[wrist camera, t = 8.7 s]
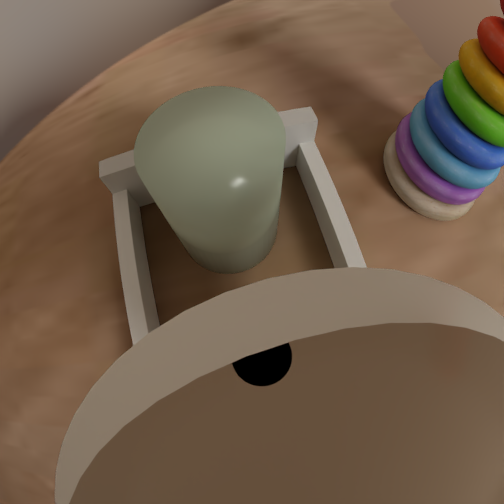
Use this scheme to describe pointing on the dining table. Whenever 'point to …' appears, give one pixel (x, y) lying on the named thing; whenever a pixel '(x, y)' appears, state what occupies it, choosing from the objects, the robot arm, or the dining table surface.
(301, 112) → the white u-shaped frame
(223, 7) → the dining table surface
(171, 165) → the grey-green cylinder
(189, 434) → the cream jar
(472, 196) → the stacking toy
